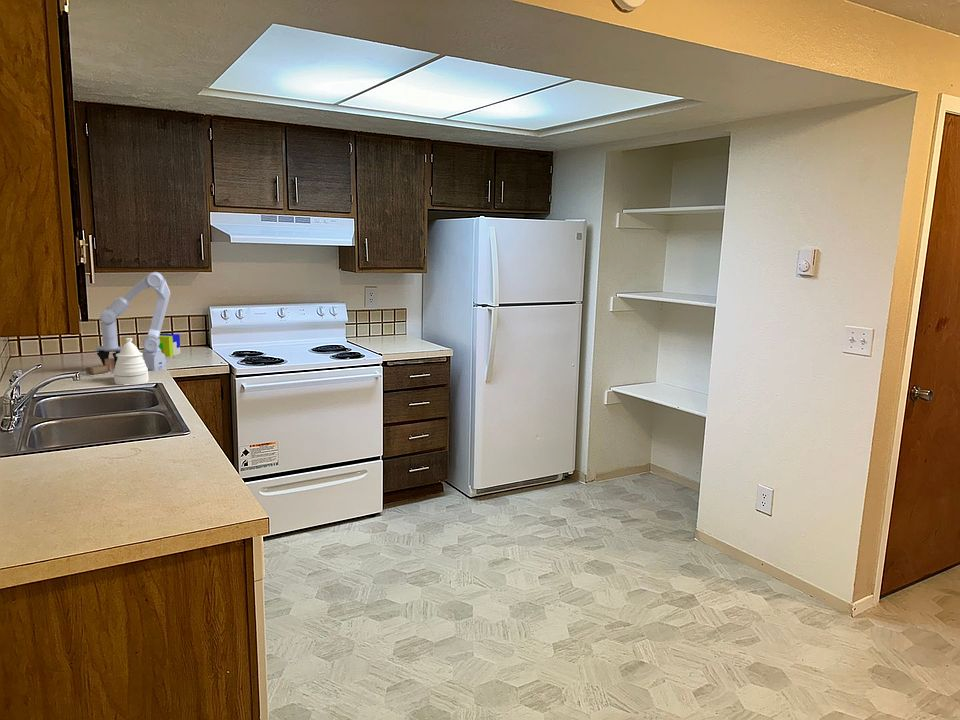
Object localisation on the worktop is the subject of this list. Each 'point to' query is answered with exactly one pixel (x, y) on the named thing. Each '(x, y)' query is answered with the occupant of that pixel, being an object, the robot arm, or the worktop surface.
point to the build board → (96, 375)
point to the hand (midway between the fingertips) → (112, 367)
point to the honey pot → (130, 365)
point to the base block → (96, 369)
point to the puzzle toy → (169, 344)
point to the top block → (110, 364)
